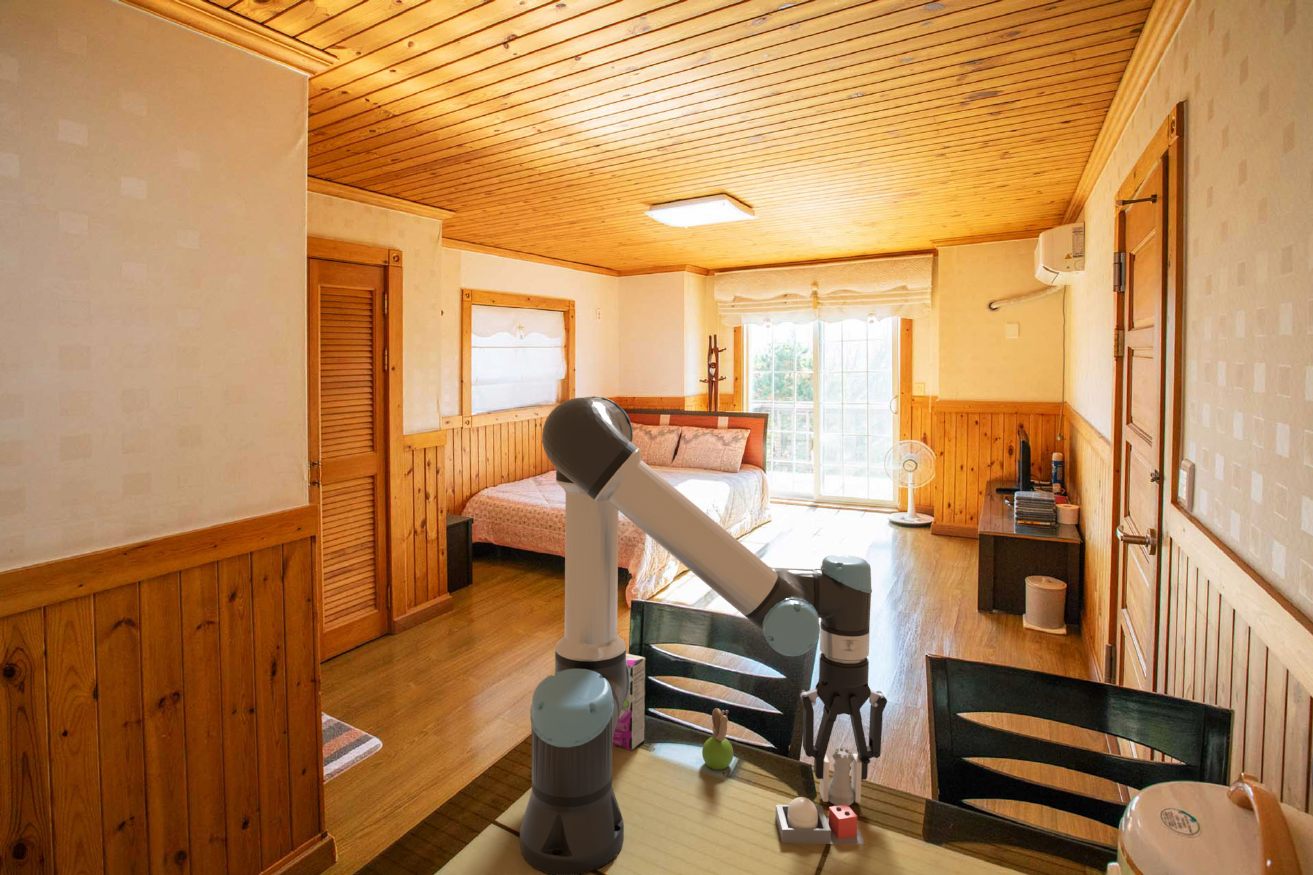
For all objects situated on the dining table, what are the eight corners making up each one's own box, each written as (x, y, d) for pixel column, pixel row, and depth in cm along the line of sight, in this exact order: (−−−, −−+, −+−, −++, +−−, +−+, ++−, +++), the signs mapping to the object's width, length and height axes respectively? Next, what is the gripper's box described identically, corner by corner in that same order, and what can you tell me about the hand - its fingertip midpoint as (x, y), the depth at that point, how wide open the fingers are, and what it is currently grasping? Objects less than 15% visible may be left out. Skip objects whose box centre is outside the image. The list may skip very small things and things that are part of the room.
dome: (790, 836, 101) (790, 808, 100) (785, 818, 105) (785, 790, 105) (820, 837, 100) (821, 808, 100) (813, 818, 105) (814, 791, 105)
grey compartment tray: (781, 845, 100) (782, 820, 100) (775, 820, 106) (776, 796, 106) (864, 847, 100) (865, 822, 99) (853, 821, 106) (854, 797, 105)
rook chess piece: (855, 810, 107) (859, 760, 107) (825, 805, 108) (829, 756, 108) (852, 794, 112) (856, 746, 111) (824, 789, 113) (828, 742, 112)
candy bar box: (581, 736, 131) (582, 652, 130) (597, 725, 135) (597, 644, 134) (631, 752, 125) (632, 665, 124) (645, 740, 129) (646, 655, 128)
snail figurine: (709, 781, 116) (710, 712, 115) (698, 761, 122) (699, 695, 122) (739, 777, 117) (740, 709, 117) (727, 757, 124) (728, 693, 123)
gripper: (792, 663, 105) (789, 809, 106) (908, 665, 105) (902, 812, 106) (784, 645, 112) (781, 782, 114) (892, 646, 112) (887, 784, 114)
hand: (839, 796), depth 110 cm, fingers closed on rook chess piece, 4 cm apart
